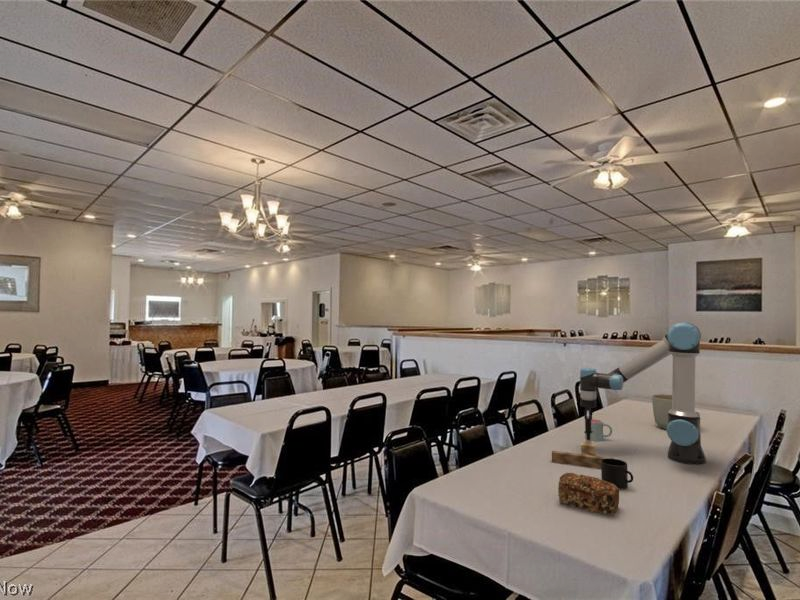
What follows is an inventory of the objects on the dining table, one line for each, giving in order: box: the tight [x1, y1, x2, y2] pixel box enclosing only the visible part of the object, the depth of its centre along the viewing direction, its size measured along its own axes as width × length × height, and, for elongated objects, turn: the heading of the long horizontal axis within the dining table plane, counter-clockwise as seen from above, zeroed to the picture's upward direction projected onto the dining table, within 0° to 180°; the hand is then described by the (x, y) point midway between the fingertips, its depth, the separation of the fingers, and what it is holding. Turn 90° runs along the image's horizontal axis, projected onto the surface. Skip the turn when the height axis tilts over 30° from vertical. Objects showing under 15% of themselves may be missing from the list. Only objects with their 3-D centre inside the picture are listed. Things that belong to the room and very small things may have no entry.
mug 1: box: [584, 418, 613, 443], centre depth 238 cm, size 14×9×10 cm
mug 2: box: [600, 457, 634, 490], centre depth 172 cm, size 9×12×9 cm
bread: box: [557, 472, 620, 516], centre depth 155 cm, size 19×11×10 cm, turn 53°
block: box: [580, 441, 596, 456], centre depth 209 cm, size 6×6×6 cm
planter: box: [651, 393, 672, 430], centre depth 262 cm, size 21×21×19 cm
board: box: [551, 450, 615, 470], centre depth 196 cm, size 26×3×5 cm, turn 64°
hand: (588, 445), depth 218 cm, fingers closed
